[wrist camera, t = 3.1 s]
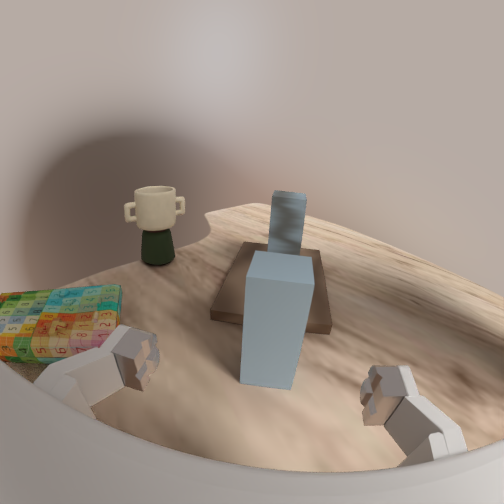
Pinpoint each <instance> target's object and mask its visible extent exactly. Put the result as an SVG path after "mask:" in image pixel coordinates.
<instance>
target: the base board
mask: <svg viewBox="0 0 504 504" xmlns="http://www.w3.org/2000/svg"><path fill="white" fill-rule="evenodd" d="M306 201H307V199H306V194H303V193H294V192H285V191H274V193H273V196H272V205H271V217H270V228H269V239H268V244H261V243H252V242H244V243H243V245H242V247H241V249H240V251H239V253H238V255H237V257H236V259H235V261H234V263H233V265H232V267H231V269H230V271H229V273H228V275H227V277H226V279H225V281H224V283H223V285H222V287H221V289H220V291H219V293H218V295H217V297H216V299H215V301H214V303H213V305H212V308H211V310H210V313H211V319H212V320H218V321H224V322H230V323H237V324H243V319H244V302H245V286H246V275H247V272H248V270H249V267H250V264H251V261H252V259H253V256H254V253H255V250H256V251H265V252H273V253H282V254H290V255H299V256H307V257H312V265H313V274H314V283H315V285H314V291H313V296H312V301H311V306H310V311H309V315H308V320H307V325H306V329H305V332H308V333H319V334H330V331H331V327H332V321H331V314H330V308H329V302H328V296H327V290H326V284H325V278H324V273H323V267H322V262H321V256H320V251H319V250H312V249H304V248H301V241H302V234H303V226H304V218H305V209H306Z"/></svg>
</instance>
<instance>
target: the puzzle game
mask: <svg viewBox="0 0 504 504" xmlns="http://www.w3.org/2000/svg"><path fill="white" fill-rule="evenodd" d="M121 300H122V290H121V286H120V285H116V284H111V285H100V286H89V287H78V288H66V289H53V290H42V291H27V292H13V293H2V294H1V295H0V360H2V361H5V362H17V363H45V364H52V363H55V362H57V361H60V360H63V359H66V358H68V357H71V356H74V355H76V354H79V353H82V352H84V351H87V350H90V349H92V348H95V347H98V348H100V346H101V345H102V344H103V343H104V342H105V341H106V339H107V338H108V337H109V336H110V335H111V334H112V332H113V331H114V330H115V329H116V328H117V327H118V326H119V322H120V311H121Z"/></svg>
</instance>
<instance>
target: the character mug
mask: <svg viewBox="0 0 504 504" xmlns="http://www.w3.org/2000/svg"><path fill="white" fill-rule="evenodd" d="M177 202H180V210H176V203H177ZM130 208H135V213H136V216H130ZM124 212H125V220H126V222H134V221H136V224H137V226H138V227H139V228H140V229H142V230H143V233H142V249H141V251H142V252H141V255H142V256H141V257H142V260H143V261H144V262H147V263H149V264H155V265H161V264H166V263H168V262H170V261H172V260H173V258H174V257H175V253H174V247H173V241H172V236H171V231H170V229H169V228H170V227H173V226H174V224H175V222H176V216H177V215H183V214H184V213H185V199H184V197H176V192H175V188H173V187H168V186H151V187H144V188H140V189H137V190H135V202H131V203H126V204H125V206H124Z"/></svg>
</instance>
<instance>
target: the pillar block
mask: <svg viewBox="0 0 504 504" xmlns="http://www.w3.org/2000/svg"><path fill="white" fill-rule="evenodd" d="M314 285H315V283H314V274H313V265H312V257H307V256H299V255H290V254H282V253H273V252H265V251H256V250H255V253H254V256H253V259H252V261H251V264H250V267H249V270H248V272H247V275H246V286H245V302H244V319H243V336H242V353H241V371H240V383H241V384H248V385H255V386H262V387H269V388H278V389H287V390H291V387H292V383H293V379H294V375H295V371H296V367H297V363H298V359H299V355H300V351H301V347H302V342H303V338H304V334H305V329H306V325H307V320H308V315H309V311H310V306H311V301H312V296H313V291H314Z"/></svg>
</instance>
